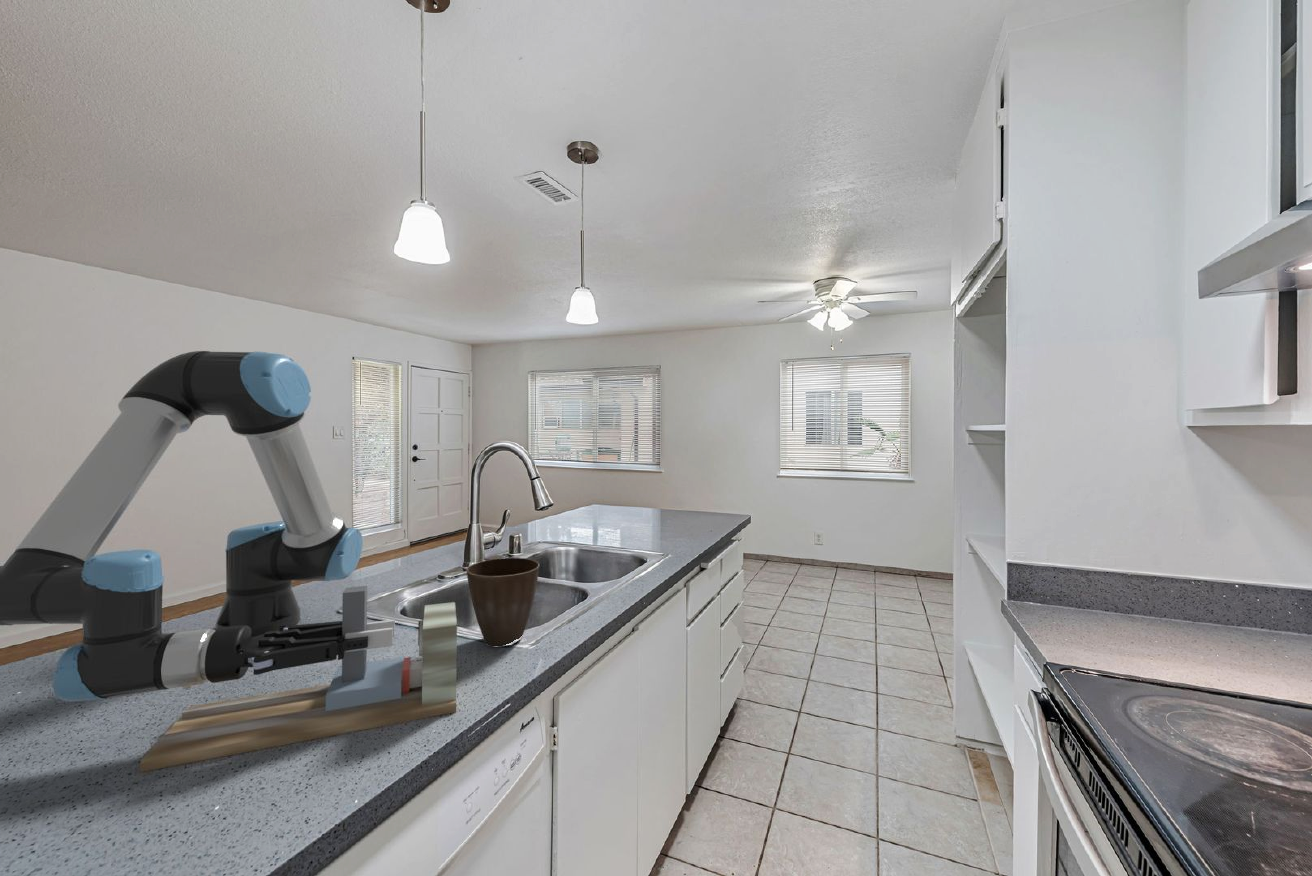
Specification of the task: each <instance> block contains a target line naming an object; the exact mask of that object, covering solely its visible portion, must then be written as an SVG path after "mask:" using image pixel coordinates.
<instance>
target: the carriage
mask: <svg viewBox="0 0 1312 876" xmlns="http://www.w3.org/2000/svg"><path fill="white" fill-rule="evenodd" d="M341 610H342V620H341V621H342V636H343V637H344V639H345V634H346V633H352V632H360V631H367V623H368V585H361V586H360V585H359V586H347V587H345V588H344V590H343V592H342V609H341ZM367 651H368V649H366V650H359V651H351V652H345V651H344V658H343V659H341V665H340V666H338V667H337V668H336V671H335V674H334V675H333V678H332V680H331V683H330V684H329V685H330V687H329V689H328V691H327V693H326V711H330V710H335V709H341V708H347V707H353V706H359V705H364V704H370V703H376V702H382V701H387V700H393V699H399V698H401V694H402V669H403V663H404V658H406V656H401V657H394V658H386V659H380V660H379V659H378V660H373V661H367V656H368V655H367V653H368V652H367Z"/></svg>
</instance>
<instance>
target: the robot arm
mask: <svg viewBox="0 0 1312 876" xmlns="http://www.w3.org/2000/svg"><path fill="white" fill-rule="evenodd" d="M311 392H312V391H311V384H310V381H309V378H308V375H307V374H306V372H305V371H304V369H303V367H302V366H301V365H300V364H299V363H298V362H296V361H295V360H294V359H292V358H291V357H289V356H287V355H285V354H281V353H271V352H270V353H269V352H266V351H252V352H251V351H250V352H249V351H210V350H209V351H208V350H196V351H195V350H194V351H190V352H185V353H181V354H177V355H175V356H173V357H171V358H169V359H167V360H166V361H163V362H161V363H160V364H158V365H156V367H154V368H153V369H151V370H150V371H148V372H147V373H146V374H145V375H143V376H142V377H140V378H139V380H138V381H137V382H135V384H134V385H133V386H132V387H131V388H130V389H129V390H128V391H127V392H126V393H125V395H123V397H122V398H121V400H120V401H119V402H118V406H117V407H118V409H119V412H120V414H119V415H118V416H117V418H116V419H115V420H114V422H113V423H112V424H111V425H110V427H109V428H108V429H107V431H106V432H105V433H104V435H103V436H102V437H101V438H100V439H99V441H98V442H97V443H96V445H95V446H94V448H93V449H92V450H91V451H90V452H89V454H88V455H87V457H85V459H84V460H83V462H82V463H81V464H80V466H79V467H78V468H77V469H76V471H75V472H74V473H73V474H72V476H71V478H70V479H69V480H68V481H67V482H66V484H65V485H64V486H63V487H62V489H61V490H60V492H59V493H58V494H57V495H56V497H54V499H53V500H52V502H51V503H50V504H49V506H48V507H47V508H46V510H44V512H43V513H42V515H41V516H40V517H39V519H38V520H37V521H36V522H35V524H34V525H33V526H32V528H31V529H30V530H29V531H28V533H27V534H26V535H25V536H24V538H23V539H22V540H21V542H20V543H19V544H18V546H17V547H16V548H15V550H14V552H13V553H12V554H11V555H10V556H9V557H8V558H7V560H6V561H5V563H4V564H3V565H0V626H3V627H4V626H13V625H41V624H49V625H54V624H55V625H63V624H64V625H67V624H69V625H70V624H71V625H78V624H79V625H82V642H78V643H75V644H74V645H71V646H70V647H68V648H67V649H66V650H65V651H64V652H63V653H62V654H61V656H60V657H59V658H58V661H57V663H56V665H55V672H54V674H53V675H52V689H53V692H54V695H55V696H56V697H57V698H58V699H59V700H62V701H63V702H71V703H72V702H74V703H75V702H83V701H93V700H94V701H95V700H101V701H104V700H108V699H110V700H111V699H112V698H118V697H124V696H132V695H137V694H143V693H144V694H145V693H149V692H156V691H162V690H163V691H165V690H171V689H177V688H182V689H183V690H189V689H191V687H192V686H197V685H204V684H206V683H207V682H208V681H209V682H210V683H212V684H214V683H223V682H228V681H234V680H240V679H242V678H243V677H245V675H246V673H247V672H248V670H249V668H253V675H254V676H259V675H262V674H266V673H270V672H272V671H277V670H278V671H279V670H283V669H289V668H295V667H302V666H307V665H313V664H319V663H325V662H330V661H332V662H333V661H335V660H338V661H340V660H341V661H342V659H343V658H344V651H345V652H351V651H359V650H366V649H367V650H372V649H373V650H374V649H380V648H386V647H392V646H393V643H394V642H393V641H394V638H395V635H396V634H395V631H396V630H395V625H396V624H395V623H396V622H395V620H396V619H390V620H389V619H388V620H381V621H380V620H378V621H371V622H367V631H360V632H352V633H346V634H345V639H344V637H343V636H342V620H338V621H326V622H314V623H304V624H298V623H299V622H300V621H301V607H300V606H299V603H298V600H297V598H296V596H295V593H294V591H293V587H292V585H293V584H292V581H293V582H294V581H296V582H297V581H303V582H304V581H305V582H306V581H307V582H309V581H310V582H311V581H314V582H315V581H316V582H330V581H341V580H345V579H346V578H349V576H350V575H351V574H353V572H354V571H355V569H356V567H357V565H358V564H359V561H360V559H361V555H362V551H363V536H362V532H361V531H360V529H358V528H354V527H346V524H345V521H344V518H343V517H342V515H340V514H339V513H337V512H335V511H332V509H331V507H330V504H329V501H328V498H327V496H326V493H325V490H324V488H323V484H322V482H321V479H320V478H319V477H320V476H319V474H318V472H317V469H316V467H315V464H314V461H313V458H312V455H311V453H310V450H309V447H308V445H307V442H306V438H305V436H304V434H303V431H302V429H301V426H300V423H301V422H302V420H304V418H305V416H306V415H305V412H306V411H307V409H308V408H309V405H310V403H311V398H312V397H311V396H310V393H311ZM204 416H224V417H225V418H226V420H227V422H228V424H229V427H230V429H231V431H232V432H233V433H235V434H236V435H239V436H242V437H245V438H246V439H247V441H248V444H249V446H250V448H251V451H252V453H253V455H254V458H255V460H256V463H257V464H258V466H259V468H260V471H261V474H262V476H263V478H264V481H265V482H266V485H267V487H268V489H269V492H270V494H271V496H272V499H273V501H274V503H275V505H276V508H277V510H278V512H279V514H280V516H281V519H282V520H280V521H278V520H277V521H273V522H265V523H264V522H263V523H259V524H254V525H248V526H243V527H239V528H235V529H234V530H231V531H230V532H229V533H228V535H227V537H226V548H225V558H226V560H225V568H226V569H225V570H226V571H225V573H226V575H225V578H226V579H225V580H226V581H225V585H226V586H225V589H226V590H225V591H226V593H225V594H226V595H225V599H224V601H223V604H222V607H221V610H220V612H219V614H218V617H217V619H216V622H215V625H214V626H215V628H212V627H211V628H203V629H195V630H186V631H178V632H170V633H162V621H163V584H164V576H163V569H162V558H161V555H160V554H159V552H157V551H155V550H151V549H131V550H118V551H111V552H105V553H101V554H97V555H96V553H98V551H99V549H100V548H101V546H102V545H103V543H104V542H105V540H106V539H107V538H108V536H109V534H110V533H111V532H112V531H113V528H114V527H115V526H116V525H117V523H118V521H119V520H120V518H121V517H122V515H123V514H124V513H125V511H126V510H127V508H128V507H129V505H130V504H131V502H132V500H133V499H134V498H135V496H136V495H137V493H138V492H139V490H140V489H141V487H142V486H143V485H144V483H145V482H146V480H147V479H148V477H149V475H150V474H151V472H152V471H154V468H155V466H156V465H157V464H158V463H159V460H161V458H162V456H163V455H164V453H165V452H166V451H167V449H169V446H170V445H171V444H172V441H173V440H174V438H175V437H176V435H178V434H182V433H185V432H187V431H188V430H189V429H190V428H191V427H192V425H193V424H194V423H195V421H197V420H198V419H199V418H201V417H204Z"/></svg>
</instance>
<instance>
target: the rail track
mask: <svg viewBox="0 0 1312 876" xmlns="http://www.w3.org/2000/svg"><path fill="white" fill-rule="evenodd" d="M423 611H424V613H423V619H421V620H418V625H417V627H418V629H417V630H418V633H417V634H418V637H417V643H418V644H417V646H418V656H419V657H422V658H421V661H422V686H421V687H415V688H410V689H409V693H404V694H401V698H399V699H393V700H387V701H382V702H376V703H370V704H364V705H359V706H353V707H347V708H341V709H335V710H330V711H326V693H327V691H328V689H329V687H330V684H325V685H319V686H312V687H307V688H299V689H292V690H287V691H280V692H273V693H267V694H262V695H256V696H248V697H241V698H236V699H230V700H224V701H222V700H221V701H217V702H211V703H210V702H209V703H204V704H198V705H197V704H196V705H191V706H189V707H187V708H185V709H184V710H183V711H182V712H181V716H180V717H179V718H178V719H177V720H176V721H175V722H174V723H173V724H172V725H171V727H170V728H169V729H167V731H166V732H165V733H164V734H160V736H159V737H158V738H157V742H156V743H155V745H153V746H152V747H151V749H150V750H149V751H148V752H147V753H146V754H144V756H143V757H142V758H141V760H139V761H140V762H139V763H140V765H139V767H140V768H139V769H140V771H139V772H140V773H144V772H149V771H153V770H154V771H155V770H160V769H165V768H170V767H174V766H180V765H185V764H191V763H195V762H202V761H207V760H211V759H217V758H221V757H227V756H233V755H237V754H243V753H249V752H255V751H259V750H265V749H270V748H274V747H279V746H284V745H290V744H296V743H301V742H306V741H311V740H317V739H321V738H326V737H333V736H337V735H343V734H348V733H354V732H358V731H362V730H363V731H364V730H368V729H374V728H378V727H379V728H380V727H385V726H389V725H390V726H391V725H396V724H400V723H405V722H411V721H415V720H421V719H426V718H431V717H437V716H442V715H446V714H447V715H448V714H452V713H457V658H458V657H457V656H458V655H457V651H458V650H457V649H458V648H457V646H458V645H457V644H458V639H457V638H458V634H457V633H458V621H457V611H456V602H454V601H451V602H443V603H434V604H425V605H424V610H423Z"/></svg>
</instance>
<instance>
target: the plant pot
mask: <svg viewBox="0 0 1312 876" xmlns="http://www.w3.org/2000/svg"><path fill="white" fill-rule="evenodd" d="M539 571H540V563H539V562H538V561H537V560H533V559H529V558H524V557H523V558H521V557H505V558H503V557H502V558H493V559H487V560H481V561H478V562H476V563H473V564H471V565H469V566H468V567H467V568H466V577H467V583H468V590H469V595H470V598H471V604H472V607H473V611H474V614H475V618H476V621H477V624H478V626H479V630H480V633H481V634H482V637H483V639H484V642H485V644H486V645H487V644H488V645H487V646H489V645H490V646H489V647H492V646H503V645H506V644H509V643H511V642H513V641H514V640H516V639H519V638H520V637H521V636H522V635H524V633H525V630H526V628H527V627H526V626H527V624H528V621H529V618H530V616H531V611H532V607H533V604H534V600H535V595H536V591H537V585H538V579H539V578H538V577H539V573H540V572H539ZM522 637H523V636H522Z"/></svg>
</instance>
